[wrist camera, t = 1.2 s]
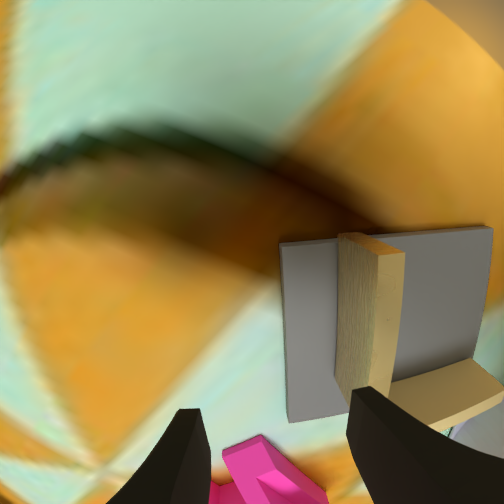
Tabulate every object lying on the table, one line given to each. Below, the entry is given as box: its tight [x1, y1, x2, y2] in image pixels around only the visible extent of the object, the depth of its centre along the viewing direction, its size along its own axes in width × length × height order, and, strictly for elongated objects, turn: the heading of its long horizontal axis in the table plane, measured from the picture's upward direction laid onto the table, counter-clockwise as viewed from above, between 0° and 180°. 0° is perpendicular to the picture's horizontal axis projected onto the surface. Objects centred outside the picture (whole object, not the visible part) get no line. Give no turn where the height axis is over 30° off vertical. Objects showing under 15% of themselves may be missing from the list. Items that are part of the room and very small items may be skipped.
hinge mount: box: [279, 226, 504, 432], centre depth 15 cm, size 15×12×6 cm
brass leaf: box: [335, 232, 405, 409], centre depth 14 cm, size 9×1×5 cm, turn 4°
